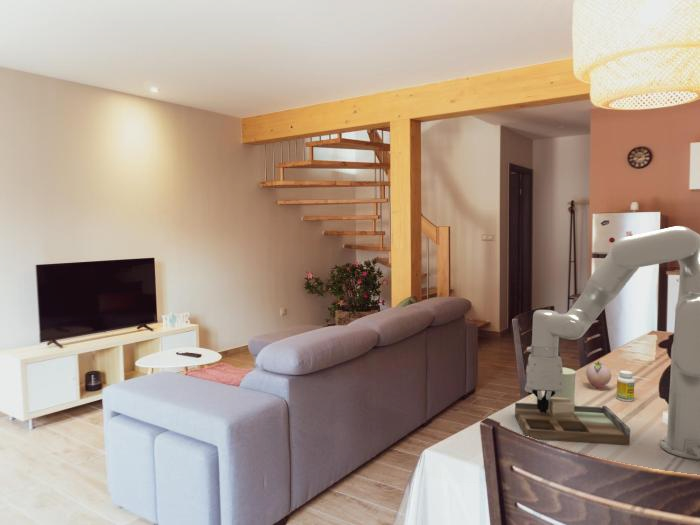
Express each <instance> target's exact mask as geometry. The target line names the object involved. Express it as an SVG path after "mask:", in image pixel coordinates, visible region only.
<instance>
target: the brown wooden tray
mask: <svg viewBox="0 0 700 525" xmlns="http://www.w3.org/2000/svg"><path fill="white" fill-rule="evenodd" d="M514 404H515V406H514V407H515V408H514V417H515V419H516V420H517V422H518V423H519V426H520V428H521V430H522V432H523V433H524V436H525V437H526V436H529V437H532V438H535V439H534V440H541V441H556V442H557V441H559V442H576V443H592V444H593V443H594V444H609V445H627V446H628V445H629V446H630V445H631V444H630V441H631V428H630V427H629V426H628V425H627V424H626V423H625V422H624V421H623V420H622V419H621V418H620V417H618V415H616V414H615V413H614V411H612V410H611V408H609V407H608V406H607V405H602V406H590V405H589V406H585V405H575V406H574V419H557V418H552V417H551V415H550V414H549V412H548V409H547V412H546V413H544V412H543V413H541V412H540V411H539V409H537V403H529V402H515V403H514Z"/></svg>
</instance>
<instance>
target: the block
mask: <svg viewBox="0 0 700 525" xmlns="http://www.w3.org/2000/svg"><path fill="white" fill-rule="evenodd" d="M574 404H575V402H574V403H573V402H572V401H571V400H570V399H569V398H557V397H551V398H550V400H549V406H548V412H549V414H550V415H551V417H552V418H557V419H574Z"/></svg>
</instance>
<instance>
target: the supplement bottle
mask: <svg viewBox="0 0 700 525" xmlns="http://www.w3.org/2000/svg"><path fill="white" fill-rule="evenodd" d="M633 376H634V374H633V372H632V371H628V370H620V371H619V376H618V377H617V380H616V382H617V383H616V399H617V400H619V401H621V402H622V401H623V402H633V401H634V399H635V379H634V378H633Z"/></svg>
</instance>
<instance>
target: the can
mask: <svg viewBox="0 0 700 525" xmlns="http://www.w3.org/2000/svg"><path fill="white" fill-rule="evenodd" d="M562 369H563V388H562V393H559V394H554V395H553V396H552V397H557V398H569V399H570V400H571V401H572V402H573V403H574V406H576V405H575V394H576V391H575V390H576V375H577V371H576V370H574V369H573V368H570V367H569V368H568V367H565V366H564V367H563V366H562Z"/></svg>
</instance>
